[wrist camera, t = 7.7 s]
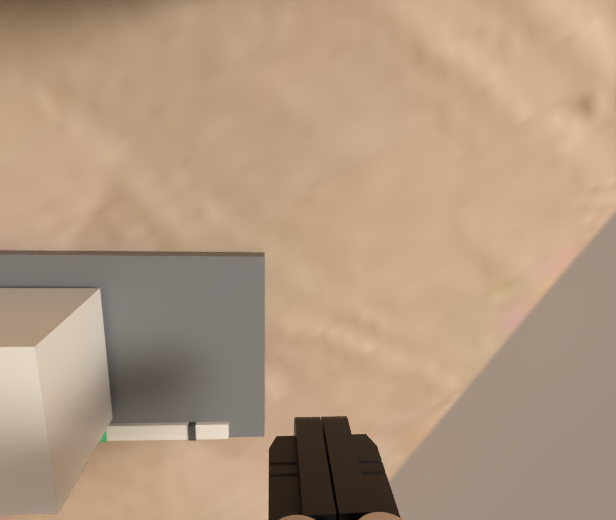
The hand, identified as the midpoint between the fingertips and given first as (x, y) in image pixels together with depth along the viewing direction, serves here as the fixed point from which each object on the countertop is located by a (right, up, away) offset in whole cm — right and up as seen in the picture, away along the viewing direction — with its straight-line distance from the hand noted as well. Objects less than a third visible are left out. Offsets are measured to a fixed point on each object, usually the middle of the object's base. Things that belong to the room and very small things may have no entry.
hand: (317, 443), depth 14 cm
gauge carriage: (-12, +1, +5) cm, 13 cm away
